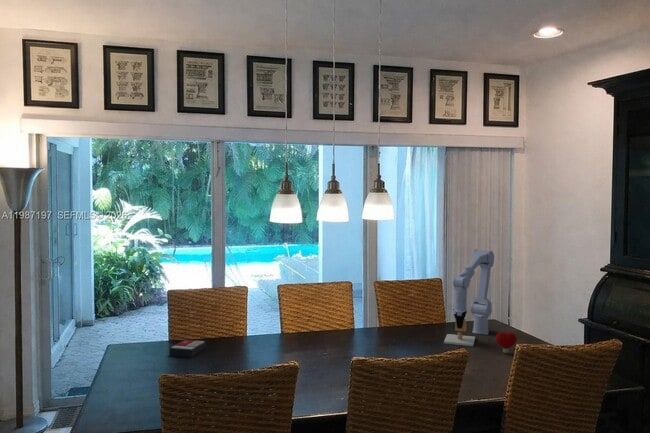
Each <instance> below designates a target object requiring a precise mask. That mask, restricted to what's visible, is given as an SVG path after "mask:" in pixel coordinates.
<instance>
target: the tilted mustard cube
mask: <svg viewBox="0 0 650 433" xmlns="http://www.w3.org/2000/svg"><path fill="white" fill-rule="evenodd" d="M454 331H455V332H466V331H467V319H466V318H464V321H463V326H462V329H460V328H457V323H456V319H455V322H454Z"/></svg>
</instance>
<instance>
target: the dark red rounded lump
mask: <svg viewBox="0 0 650 433" xmlns="http://www.w3.org/2000/svg"><path fill="white" fill-rule="evenodd" d="M517 340H518V339H517V336H516V334H515V333H514V332H511V331H509V332H504V331H499V332H497V334H496V335H495V341H496V343H497V344H498V345H500V346H501V347H502V352H503V353H504V354H506V355H507V354H508V353H509V352H510V348H511V347H513V346H515V345H516V343H517Z"/></svg>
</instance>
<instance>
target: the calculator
mask: <svg viewBox="0 0 650 433" xmlns="http://www.w3.org/2000/svg"><path fill="white" fill-rule="evenodd" d="M206 344H207V343H206V341H205V340H193V339H191V340H190V339H184V340H182V341H180V342H178V343H176V344H175V345H173V346H171V347H169V356H170V357H172V356H173V357H180V358H182V357H183V358H193V357H195V356H196V355H197V354H199V353H200V352H202V351H203V350H205V349H206V347H207V346H206Z"/></svg>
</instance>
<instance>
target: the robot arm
mask: <svg viewBox="0 0 650 433" xmlns="http://www.w3.org/2000/svg"><path fill="white" fill-rule="evenodd" d="M494 262H495V254H494V252H493V250H483V249H474V250H473V252H472V258H471V260H470V262H469V263H468V265H467V266H464V267H463V269H462V270H461V272H460V273H459V274H458V275H456V276H455V277H454V278H453V281H452V284H453V290H454V291H455V292H454V307H452V311H454V312H455V313H454V314H453V317H454V318H455V320H456V323H457V328H460V329H462V326H463V321H464V319H466V316H467V313H468V309H467V305H468V303H467V301H468V300H467V299H468V288H469V287H470V283H471V279H472V278H473V276H474V275H475V270H476V268H477V267H478V266H479V267H480V270H479V271H480V273H479V278H478V280H479V282H478V290H477V295H476V297H475V298H473V299H472V302H471V305H470V308H469V309H470V312H471V314H472V316H473V328H472V333H471V334H476V335H477V334H478V335H485V336H487V335H489V331H490V329H488V328H489V327H488V326H489V317H490V316H491V315H492V311H493V310H492V309H493V308H492V302H491V300H490V299H488V292H489V285H490V279H491V278H490V277H491V270H492V269H491V268H493V267H494Z"/></svg>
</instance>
